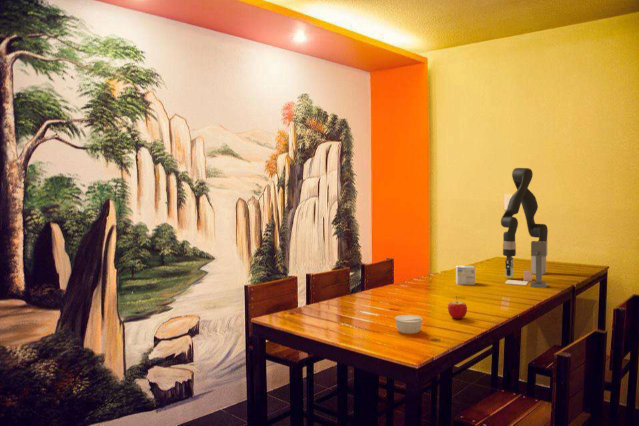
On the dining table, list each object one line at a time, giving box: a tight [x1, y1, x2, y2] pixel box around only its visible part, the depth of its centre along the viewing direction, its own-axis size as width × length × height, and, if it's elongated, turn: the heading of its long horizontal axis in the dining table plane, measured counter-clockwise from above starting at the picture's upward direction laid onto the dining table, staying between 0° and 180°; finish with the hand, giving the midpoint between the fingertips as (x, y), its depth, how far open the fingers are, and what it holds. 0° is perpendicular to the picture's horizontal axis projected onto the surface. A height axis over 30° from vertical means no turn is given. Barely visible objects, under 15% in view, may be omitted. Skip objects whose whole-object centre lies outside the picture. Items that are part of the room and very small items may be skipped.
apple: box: [447, 295, 468, 320], centre depth 226 cm, size 8×8×10 cm
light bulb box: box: [455, 265, 476, 286], centre depth 304 cm, size 11×7×11 cm, turn 84°
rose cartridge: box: [522, 269, 533, 282], centre depth 311 cm, size 4×4×6 cm
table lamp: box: [530, 240, 548, 289], centre depth 293 cm, size 10×8×26 cm
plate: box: [504, 279, 530, 286], centre depth 305 cm, size 12×12×1 cm
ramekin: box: [394, 314, 423, 335], centre depth 208 cm, size 11×11×5 cm
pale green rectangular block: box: [504, 265, 515, 278], centre depth 317 cm, size 4×4×6 cm
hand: (509, 274), depth 318 cm, fingers closed on pale green rectangular block, 4 cm apart
